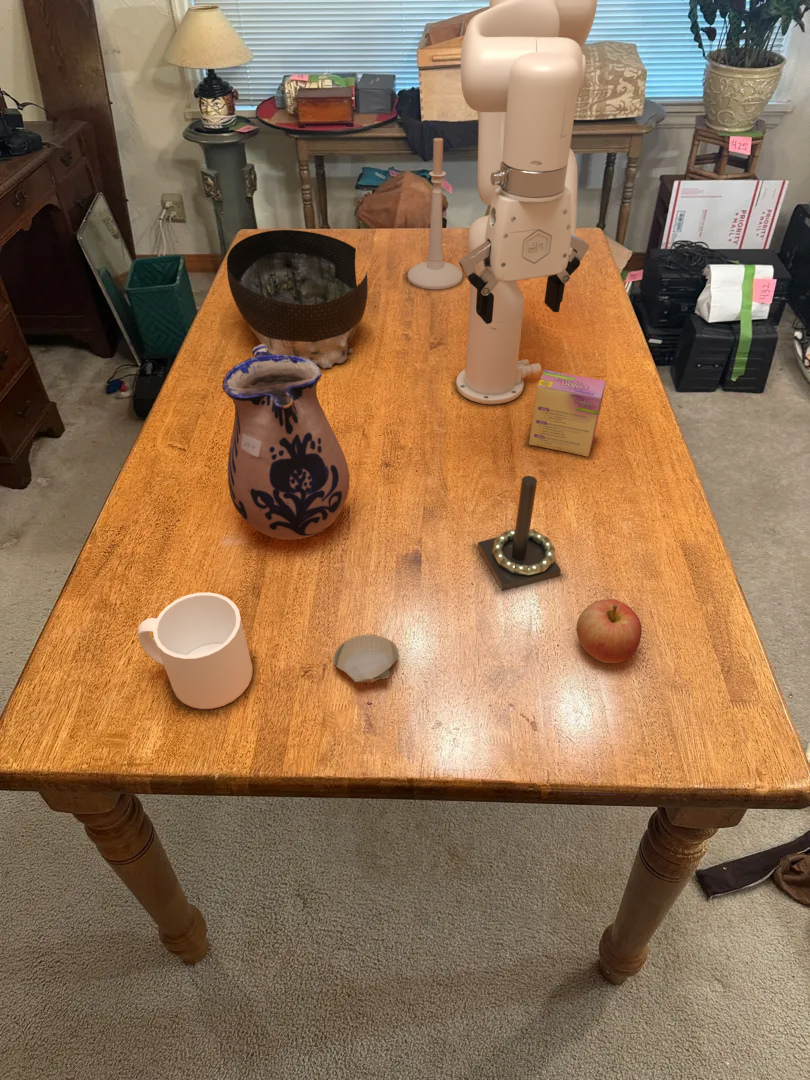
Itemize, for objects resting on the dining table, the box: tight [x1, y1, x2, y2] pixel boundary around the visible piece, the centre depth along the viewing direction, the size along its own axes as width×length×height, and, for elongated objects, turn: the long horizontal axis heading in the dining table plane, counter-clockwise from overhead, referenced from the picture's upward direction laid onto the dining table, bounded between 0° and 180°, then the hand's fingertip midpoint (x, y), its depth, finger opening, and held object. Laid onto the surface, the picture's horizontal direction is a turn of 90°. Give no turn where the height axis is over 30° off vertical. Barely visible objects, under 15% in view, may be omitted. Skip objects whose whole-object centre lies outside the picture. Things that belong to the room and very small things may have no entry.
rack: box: [477, 475, 562, 591], centre depth 105 cm, size 9×9×15 cm
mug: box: [136, 591, 254, 710], centre depth 92 cm, size 13×10×10 cm
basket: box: [226, 229, 369, 369], centre depth 152 cm, size 28×35×16 cm
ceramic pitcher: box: [221, 343, 350, 541], centre depth 109 cm, size 18×21×25 cm
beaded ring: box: [492, 528, 556, 576], centre depth 109 cm, size 9×9×1 cm
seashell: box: [332, 634, 399, 684], centre depth 96 cm, size 8×3×8 cm
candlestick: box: [407, 137, 464, 290], centre depth 166 cm, size 13×13×30 cm
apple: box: [576, 598, 642, 664], centre depth 96 cm, size 8×8×8 cm
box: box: [528, 369, 607, 458], centre depth 127 cm, size 10×6×12 cm, turn 71°
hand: (518, 313), depth 101 cm, fingers open, 9 cm apart
